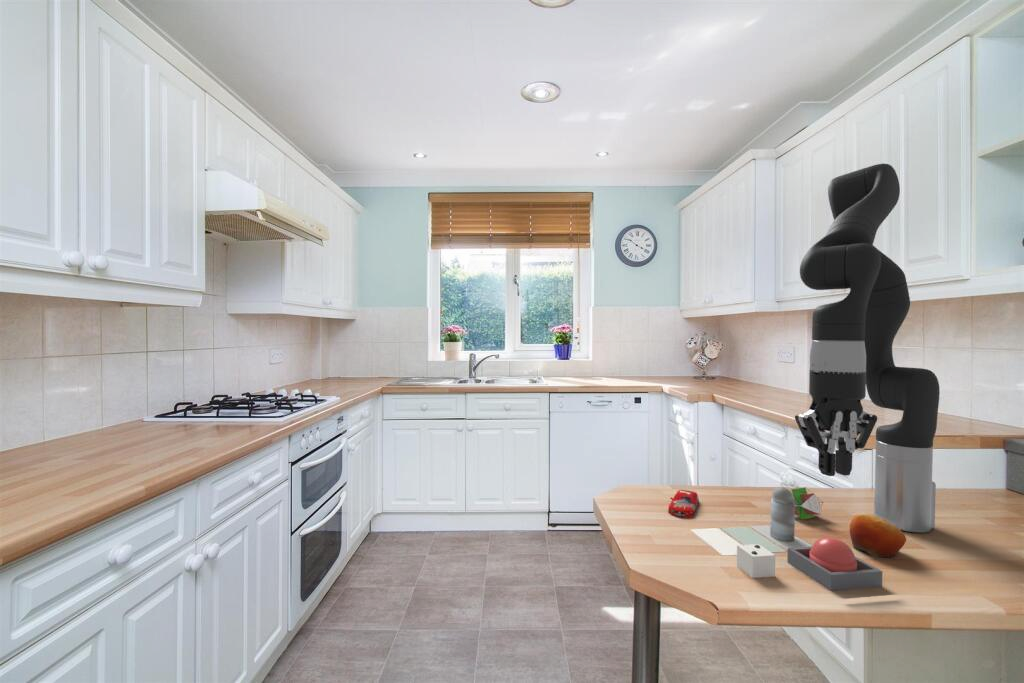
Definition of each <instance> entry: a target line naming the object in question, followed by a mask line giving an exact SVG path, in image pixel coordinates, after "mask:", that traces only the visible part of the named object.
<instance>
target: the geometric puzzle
mask: <svg viewBox="0 0 1024 683" xmlns="http://www.w3.org/2000/svg"><path fill="white" fill-rule="evenodd" d="M790 491H791V492H792V494H793V496H794V501H793V502H795V515H798V516H799V519H800V520H805V519H806V520H805V521H807V519H809V520H810V519H813V518H815V517H816V519H817V518H819V516H820V515H822V513H821V505H823V503H824V501H821V499H820V498H819V497H817V495H816V494H815V493H813V492H811V490H809V489H807V487H806V486H805V487H800V488H793V489H792V488H791V489H790ZM809 492H811V493H809ZM819 500H820V502H819ZM821 503H822V504H821Z"/></svg>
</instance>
